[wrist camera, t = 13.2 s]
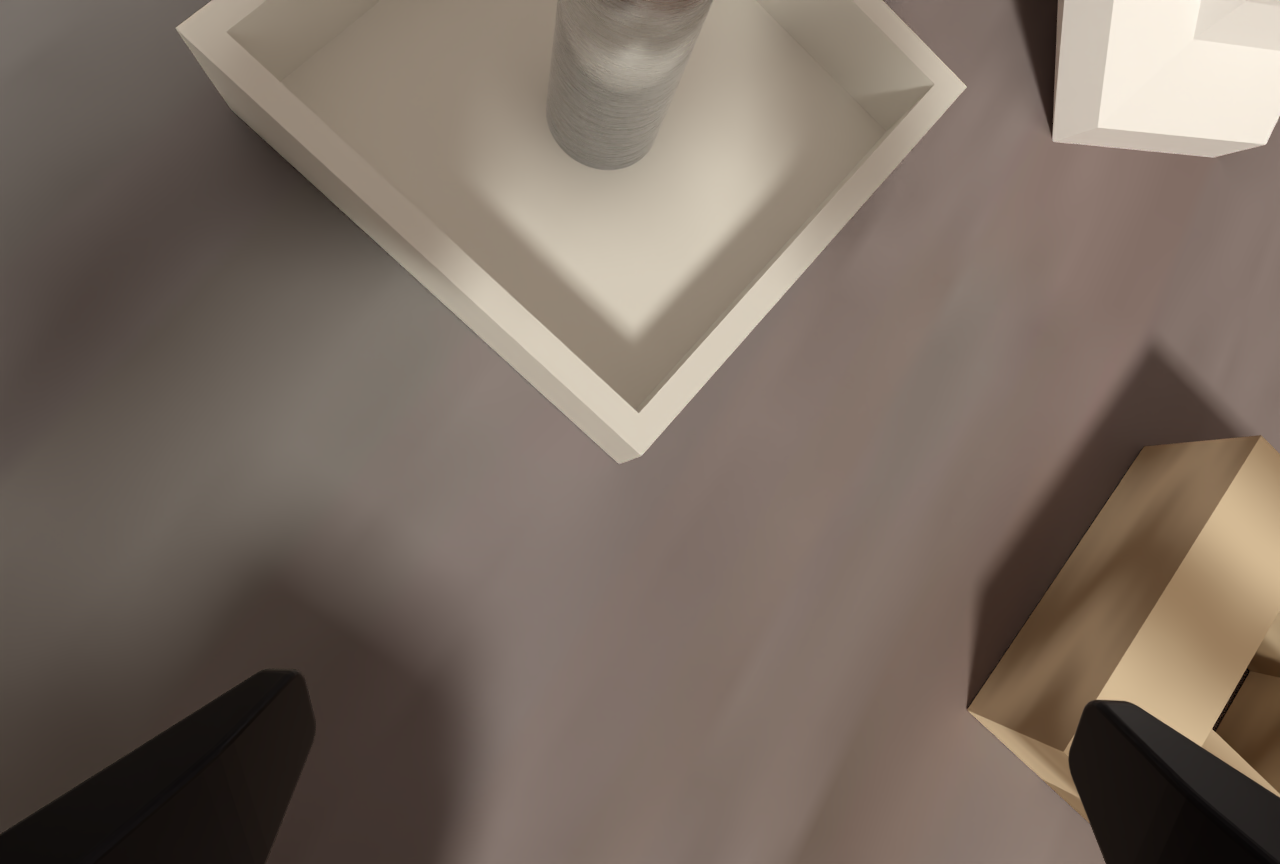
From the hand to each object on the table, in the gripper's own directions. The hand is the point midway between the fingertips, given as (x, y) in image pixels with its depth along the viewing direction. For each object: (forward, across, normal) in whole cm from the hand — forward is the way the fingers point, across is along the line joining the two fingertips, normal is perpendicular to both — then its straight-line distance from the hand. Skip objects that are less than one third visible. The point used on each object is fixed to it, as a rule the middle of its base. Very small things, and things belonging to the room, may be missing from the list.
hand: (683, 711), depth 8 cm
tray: (+18, +3, -6) cm, 20 cm away
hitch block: (+14, -18, +12) cm, 26 cm away
